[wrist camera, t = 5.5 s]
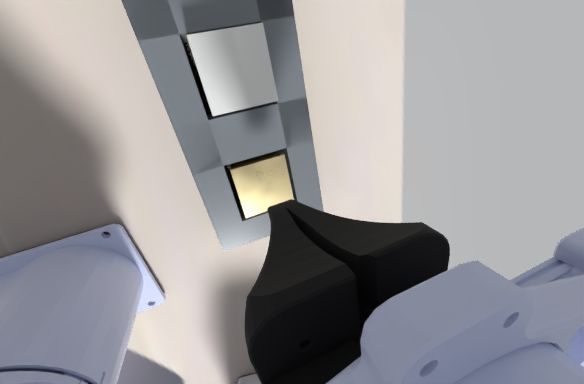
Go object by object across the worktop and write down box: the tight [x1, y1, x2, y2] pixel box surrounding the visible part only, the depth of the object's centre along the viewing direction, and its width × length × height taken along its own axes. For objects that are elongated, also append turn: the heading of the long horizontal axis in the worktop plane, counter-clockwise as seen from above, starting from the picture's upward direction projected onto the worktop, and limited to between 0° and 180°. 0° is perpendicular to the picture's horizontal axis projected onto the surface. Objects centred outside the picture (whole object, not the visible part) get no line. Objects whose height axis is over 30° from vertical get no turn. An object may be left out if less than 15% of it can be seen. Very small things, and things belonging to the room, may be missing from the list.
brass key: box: [228, 150, 294, 218], centre depth 17 cm, size 4×4×3 cm
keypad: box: [122, 0, 324, 252], centre depth 15 cm, size 8×22×3 cm, turn 11°
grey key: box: [187, 23, 278, 116], centre depth 13 cm, size 4×4×3 cm
